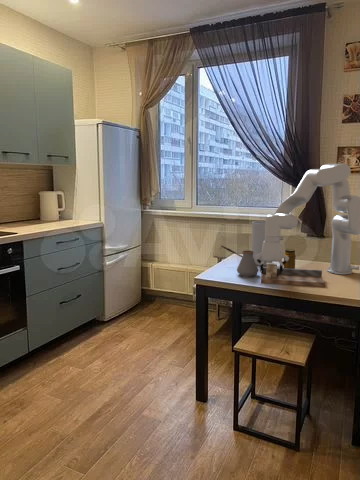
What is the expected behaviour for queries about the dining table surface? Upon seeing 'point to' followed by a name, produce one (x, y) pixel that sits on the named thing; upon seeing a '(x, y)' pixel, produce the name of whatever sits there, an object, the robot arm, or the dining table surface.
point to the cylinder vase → (258, 239)
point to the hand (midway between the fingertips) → (271, 272)
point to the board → (295, 277)
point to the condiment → (290, 259)
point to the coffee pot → (246, 263)
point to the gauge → (271, 270)
